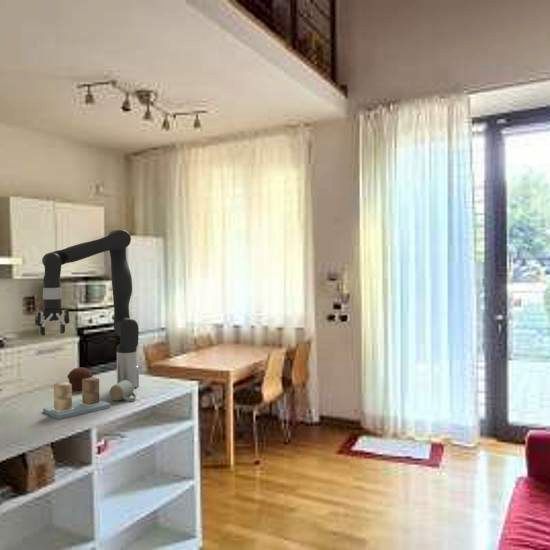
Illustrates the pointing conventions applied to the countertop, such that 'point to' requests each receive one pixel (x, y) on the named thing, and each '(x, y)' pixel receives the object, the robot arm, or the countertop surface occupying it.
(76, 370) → the muffin
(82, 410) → the board
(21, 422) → the countertop surface
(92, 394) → the walnut pillar
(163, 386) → the countertop surface
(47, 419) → the countertop surface
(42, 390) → the countertop surface
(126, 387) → the ceramic mug
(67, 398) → the oak pillar
